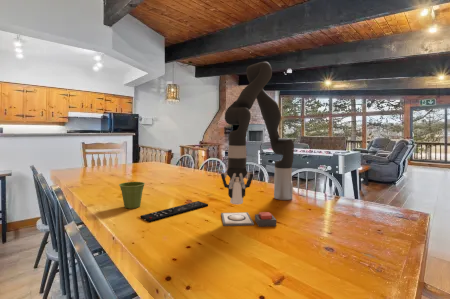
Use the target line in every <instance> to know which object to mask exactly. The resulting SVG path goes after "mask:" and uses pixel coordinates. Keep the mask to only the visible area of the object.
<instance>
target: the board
mask: <svg viewBox="0 0 450 299" xmlns="http://www.w3.org/2000/svg"><path fill="white" fill-rule="evenodd" d="M220 216H221V220H222V225H223V227H228V226H229V227H234V226H235V227H237V226H240V227H241V226H254V225H255V223H254V221H253V220H252V217H251V215H250V214H249V212H248V211H247V212H221V213H220Z"/></svg>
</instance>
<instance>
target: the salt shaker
mask: <svg viewBox="0 0 450 299" xmlns="http://www.w3.org/2000/svg"><path fill="white" fill-rule="evenodd" d="M239 178H240V177H235V181H234V183H233V185H232V198H230V200H229V201H230V204H232V205H241V204H243V203H244V198H242V184H241V182H240V181H239Z"/></svg>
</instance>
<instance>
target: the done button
mask: <svg viewBox="0 0 450 299" xmlns="http://www.w3.org/2000/svg"><path fill="white" fill-rule="evenodd" d="M258 214H259V217H260V219H272V215H273V214H272V213H271V212H269V211H261V212H260V211H259V212H258ZM271 214H272V215H271Z"/></svg>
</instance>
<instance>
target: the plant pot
mask: <svg viewBox="0 0 450 299" xmlns="http://www.w3.org/2000/svg"><path fill="white" fill-rule="evenodd" d="M145 185H146V183H145V182H143V181H128V182H127V181H126V182H122V183H119V184H118V186H119V187H120V191H121V195H122V201H123V202H122V203H123V206H124V208H125V209H138V208H139V207H141V204H142V203H141V202H142V196H143V190H144V188H145Z"/></svg>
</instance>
